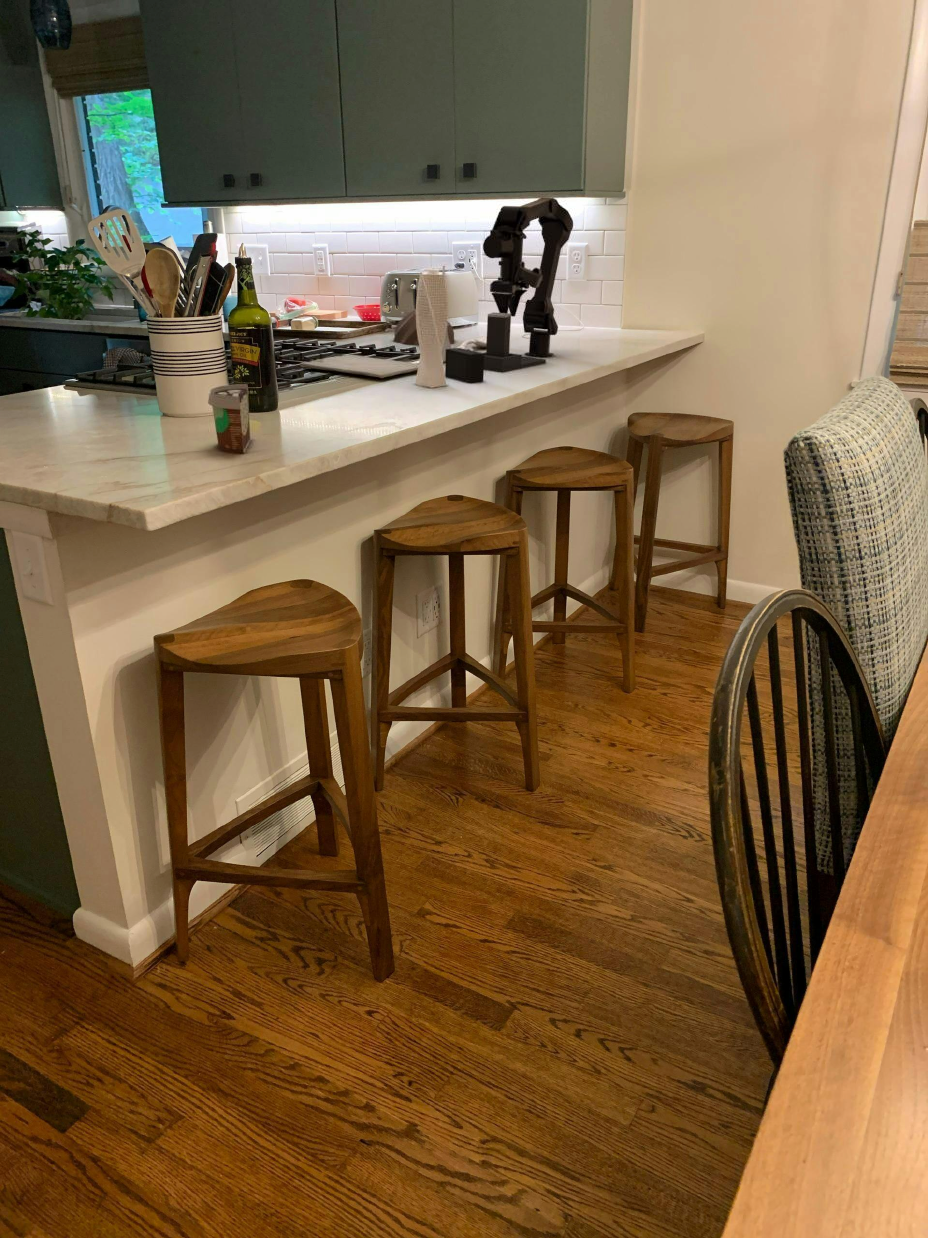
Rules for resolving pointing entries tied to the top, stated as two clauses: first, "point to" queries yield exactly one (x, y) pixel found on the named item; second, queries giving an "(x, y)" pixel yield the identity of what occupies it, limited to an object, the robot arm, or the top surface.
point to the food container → (231, 416)
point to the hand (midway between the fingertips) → (508, 317)
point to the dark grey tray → (510, 362)
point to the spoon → (475, 342)
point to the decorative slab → (362, 365)
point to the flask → (445, 345)
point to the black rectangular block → (464, 365)
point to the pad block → (498, 334)
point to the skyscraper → (431, 327)
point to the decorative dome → (413, 330)
